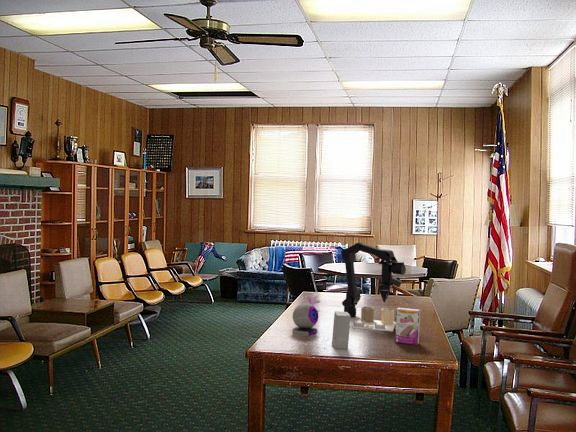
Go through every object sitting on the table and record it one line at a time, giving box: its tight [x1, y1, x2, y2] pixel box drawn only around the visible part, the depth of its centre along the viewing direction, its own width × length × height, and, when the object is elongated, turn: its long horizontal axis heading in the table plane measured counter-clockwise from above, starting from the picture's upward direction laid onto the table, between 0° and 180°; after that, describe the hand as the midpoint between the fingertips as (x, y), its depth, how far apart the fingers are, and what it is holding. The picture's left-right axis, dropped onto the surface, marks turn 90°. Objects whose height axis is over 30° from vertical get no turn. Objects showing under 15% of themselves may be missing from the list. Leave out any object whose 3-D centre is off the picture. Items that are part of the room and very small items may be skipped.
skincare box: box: [331, 311, 352, 350], centre depth 274 cm, size 8×7×16 cm
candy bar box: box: [394, 307, 421, 346], centre depth 285 cm, size 11×5×16 cm, turn 71°
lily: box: [300, 294, 321, 307], centre depth 357 cm, size 12×12×10 cm
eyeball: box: [291, 303, 319, 337], centre depth 300 cm, size 13×13×15 cm
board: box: [352, 306, 396, 332], centre depth 321 cm, size 21×22×8 cm
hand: (385, 300), depth 330 cm, fingers open, 9 cm apart
